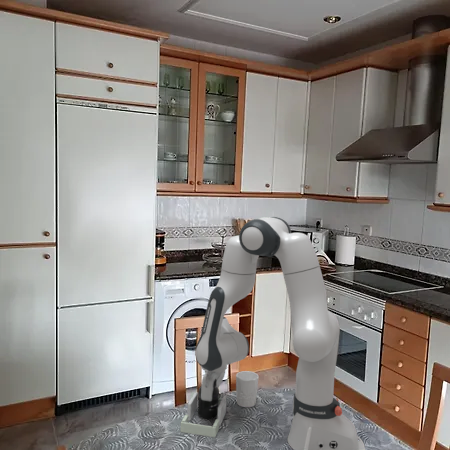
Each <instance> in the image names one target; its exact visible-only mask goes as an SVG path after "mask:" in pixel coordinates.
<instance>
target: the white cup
mask: <svg viewBox="0 0 450 450" xmlns="http://www.w3.org/2000/svg"><path fill="white" fill-rule="evenodd" d="M259 378H260V377H259V374H258V373H256V372H254V371H251V370H250V371H248V370H244V371H243V370H242V371H240V372H237V373H236V374H235V380H236V381H235V390H236V392H235V393H236V394H235V395H236V404H237V405H239V407H243V408H251V407H252V408H253V407H254V406H256V404H257V396H258V388H259Z"/></svg>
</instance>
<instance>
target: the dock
mask: <svg viewBox="0 0 450 450" xmlns="http://www.w3.org/2000/svg"><path fill="white" fill-rule="evenodd" d="M188 420H189V415H187V414H185V415H184V416H183V418H182V420H181V421H180V433H185V434H192V435H198V436H204V437H209V438H216V436H217V435H218V432H219V429H220V425H219V419H218V418H216V419H215V420H214V423H213V425H212V426H211V425H204V424H199V423H198V424H197V423H194V422H193V423H190V422H189V421H188Z"/></svg>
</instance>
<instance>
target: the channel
mask: <svg viewBox="0 0 450 450" xmlns="http://www.w3.org/2000/svg"><path fill="white" fill-rule="evenodd" d="M198 394H199V392H194V393H193V395H192V397H191V398H190V400H189V402H188V403H187V412H186V413H187V414H186V415H189V420H188V422H189V421H190V422H191V420H192V419H193V417H194V415H195V413H196V411H198ZM226 413H227V396H225V395H224V396H222V398H221V401H220V402H219V404H218V415H217V419H219V426H221V425H222V422H223V420H224V418H225V415H226Z"/></svg>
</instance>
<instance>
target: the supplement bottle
mask: <svg viewBox="0 0 450 450" xmlns="http://www.w3.org/2000/svg"><path fill="white" fill-rule="evenodd" d="M201 387H202V385H201V386H200V387H199V388H198V405H197V414H198V416H199V417H200V418H201V419H204V420H213V419H215V418H217V417H218V407H219V405H220V402H219V399H220V390H219V388H218V387H217V380H216V379H215V381H214V383H213V393H212V401H204V400H202V399H201ZM206 388H207V387H206Z"/></svg>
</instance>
